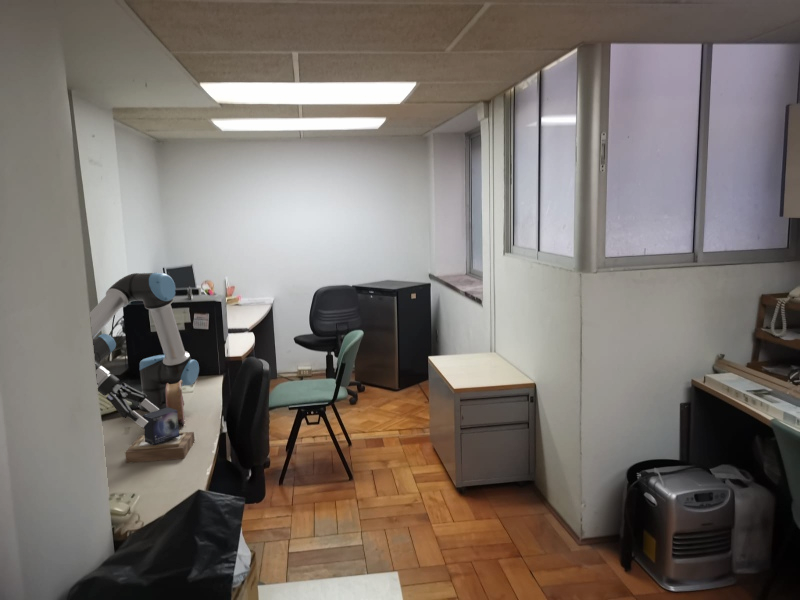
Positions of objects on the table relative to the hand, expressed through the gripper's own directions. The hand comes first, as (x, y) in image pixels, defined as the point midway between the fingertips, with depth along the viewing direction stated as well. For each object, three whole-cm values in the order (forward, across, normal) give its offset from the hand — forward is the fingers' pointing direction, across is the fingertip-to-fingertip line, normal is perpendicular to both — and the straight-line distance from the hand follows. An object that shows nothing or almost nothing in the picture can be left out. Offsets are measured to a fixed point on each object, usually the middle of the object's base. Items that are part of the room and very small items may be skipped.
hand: (151, 418), depth 220 cm
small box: (+8, 0, -4) cm, 9 cm away
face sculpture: (+10, -33, -10) cm, 36 cm away
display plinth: (+11, 0, -8) cm, 14 cm away
